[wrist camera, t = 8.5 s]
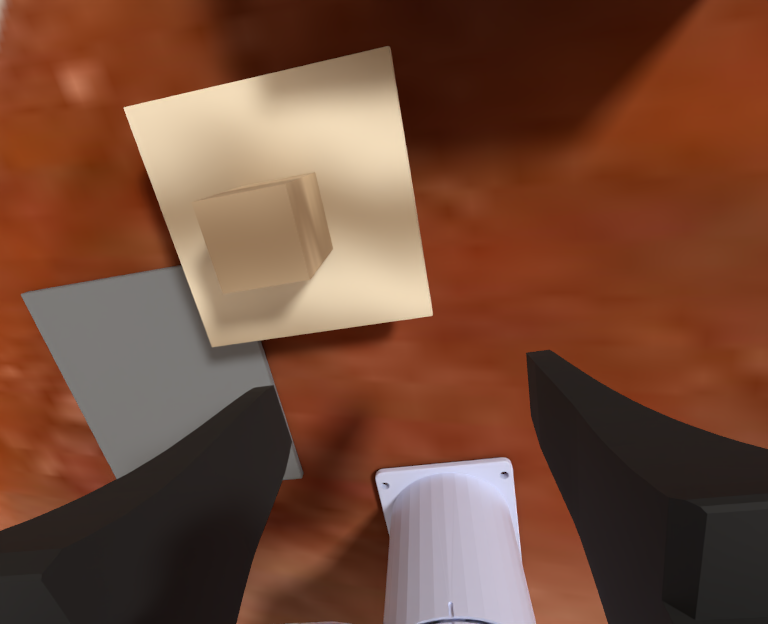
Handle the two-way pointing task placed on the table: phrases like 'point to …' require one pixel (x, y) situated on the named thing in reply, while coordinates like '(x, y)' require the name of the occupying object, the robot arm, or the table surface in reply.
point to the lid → (290, 199)
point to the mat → (144, 362)
